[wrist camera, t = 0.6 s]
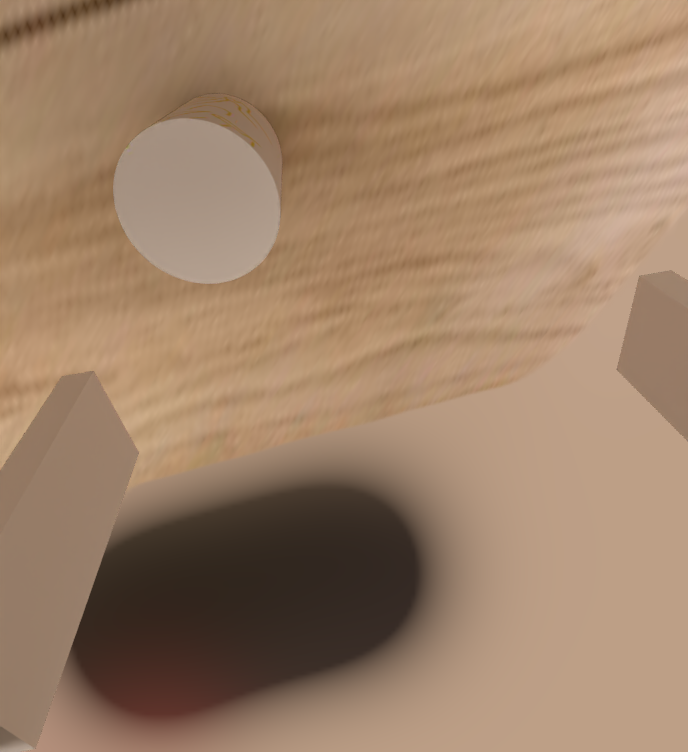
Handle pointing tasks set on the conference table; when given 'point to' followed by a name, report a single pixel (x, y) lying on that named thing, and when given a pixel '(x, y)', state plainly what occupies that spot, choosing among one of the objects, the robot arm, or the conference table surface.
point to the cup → (202, 190)
